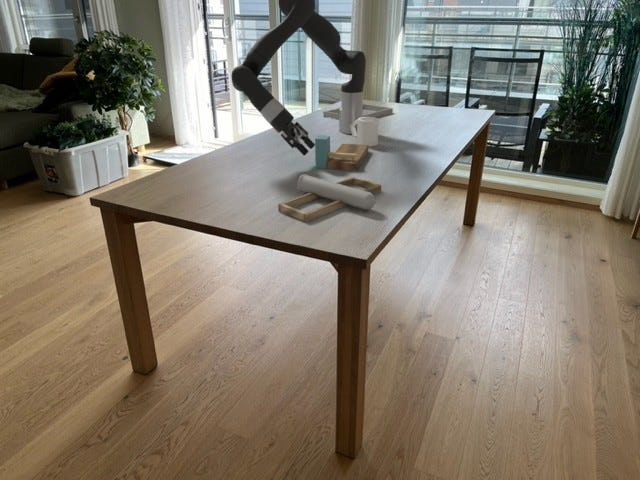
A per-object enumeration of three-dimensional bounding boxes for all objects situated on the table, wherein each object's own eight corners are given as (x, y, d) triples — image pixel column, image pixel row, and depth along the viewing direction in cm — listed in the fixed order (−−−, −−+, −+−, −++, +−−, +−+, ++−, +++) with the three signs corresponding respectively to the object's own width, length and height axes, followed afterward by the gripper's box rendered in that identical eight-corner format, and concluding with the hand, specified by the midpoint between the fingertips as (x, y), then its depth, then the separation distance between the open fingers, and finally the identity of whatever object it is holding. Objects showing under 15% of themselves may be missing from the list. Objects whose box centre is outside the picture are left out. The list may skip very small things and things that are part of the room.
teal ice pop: (315, 167, 165) (315, 138, 160) (319, 163, 169) (318, 135, 165) (354, 169, 162) (354, 140, 157) (356, 165, 166) (357, 137, 162)
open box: (327, 168, 163) (327, 161, 162) (342, 150, 184) (342, 143, 183) (356, 170, 161) (356, 163, 160) (368, 151, 181) (368, 144, 180)
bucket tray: (323, 116, 239) (323, 111, 238) (361, 107, 257) (361, 103, 256) (355, 122, 225) (355, 117, 224) (392, 113, 244) (392, 108, 243)
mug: (381, 142, 193) (382, 118, 188) (370, 147, 186) (371, 122, 182) (356, 138, 199) (356, 114, 194) (344, 143, 193) (345, 118, 188)
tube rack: (278, 210, 131) (278, 204, 130) (353, 182, 150) (353, 176, 149) (306, 222, 124) (306, 215, 123) (381, 191, 143) (381, 184, 142)
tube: (381, 193, 129) (310, 174, 143) (370, 192, 125) (299, 172, 139) (376, 212, 130) (306, 192, 144) (366, 212, 126) (295, 190, 140)
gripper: (277, 111, 154) (312, 148, 157) (290, 104, 167) (322, 138, 169) (262, 127, 158) (297, 163, 160) (276, 118, 170) (308, 152, 173)
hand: (310, 150), depth 165 cm, fingers open, 8 cm apart
